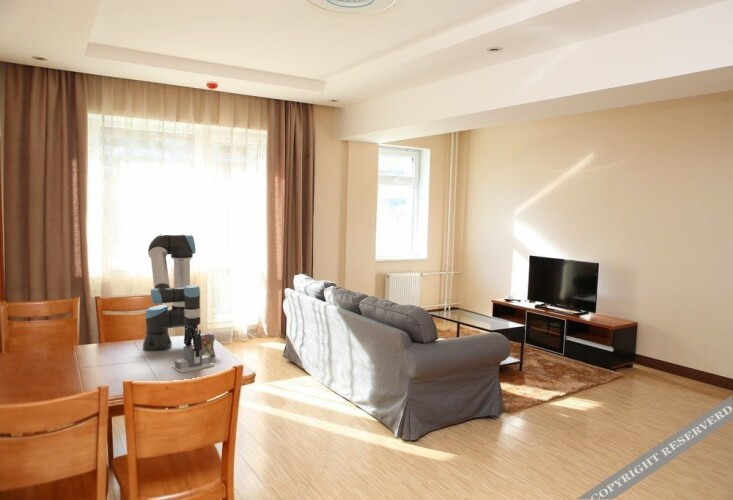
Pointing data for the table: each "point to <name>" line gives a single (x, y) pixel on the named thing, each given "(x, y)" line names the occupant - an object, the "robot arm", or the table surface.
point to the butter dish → (185, 364)
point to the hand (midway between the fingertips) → (193, 360)
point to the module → (191, 355)
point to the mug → (207, 344)
